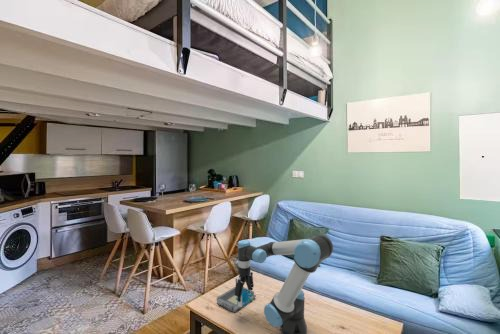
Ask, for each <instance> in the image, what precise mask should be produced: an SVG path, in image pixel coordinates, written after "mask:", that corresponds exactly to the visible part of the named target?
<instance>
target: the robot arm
mask: <svg viewBox="0 0 500 334" xmlns="http://www.w3.org/2000/svg"><path fill="white" fill-rule="evenodd" d="M333 251H334V245H333V242H332V240H331V239H330V238H329V237H328V236H326V235H324V234H317V235H313V236H308V238H303V239H295V240H293V239H292V240H283V241H270V242H267V243H264V244H262V245H259V246H257V247H256V246H252V245H251V241H250V240H247V239H242V240H239V241H238V243H237V265H238V266H237V271H238V278H235V287H236V288H235V296H237V298H238V306H240V307H242V296H241V294H242V290H243V287H244V285H246V286H247V287H246V288H247V290H248V291H250V293H248V295H250V294H251V290H252V291H253V289H254V285H255V284H254V277H253V272H252V271H251V261H252V262H255V263H258V264H263V263H264V262H265V261H266V260H267V259H268V258H270V257H271V256H285V255H286V256H287V255H288V256H289V255H293V256H294V257H293V261H294V263H293V266H292V268H291V269H290V271H289V273H288V275H287V277H286V279H285V281H284V282H283V284H282V286H281V288H280V290H279V291H278V292H276V293H274V295H273V297H272V298H271V300H270V302H269V303H266V305H264V307H263V312H264V313H263V314H264V316H265V319H266V321H267V322H268V323H269V324H270V325H271V326H272V327H274V328H279V327H280V331H281V333H282V334H307V332H308V327H307V323H306V318H305V299H306V298H305V292H304V291H303V290H302V289H303V287H304V286H305V283H306V281H307V280H308V278H309V276H310V275H311V274H312V273H313V274H314V273H315V272H316V271H317V270H318V268H319V266H320V264H321V263H322V262H323V261H325V260H326V259H328V258H330V257H331V256H332V254H333ZM248 291H247V292H248ZM248 297H249V298H251V297H250V296H248ZM242 308H243V307H242Z"/></svg>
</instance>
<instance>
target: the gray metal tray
mask: <svg viewBox="0 0 500 334" xmlns="http://www.w3.org/2000/svg"><path fill="white" fill-rule="evenodd" d="M235 288H236V286H234V287H233V288H231V289H229V290H227V291H226V292H223V293H222V294H220V295H219V296H216V303H217V305H219V306H221V307H222V308H224V309H226V310H227V311H229V312H230V313H231V312H232V313H234V314H235V313H237V312H239V310H242V308H244V307H245V306H244V303H245V302H244V303H243V304H242V307H240V306H238V303H237V301H238V300H236V297H237V296H235ZM243 289H244V291H245V289H248V287H244V286H243ZM244 291H243V292H244ZM246 293H247V291H246ZM251 295H252V297H251V299H252V298H253V299H254V300H255V299H256V297H257V295H256V294H255V291H253V290H251ZM248 302H249V301H248ZM249 303H250V302H249ZM246 305H248V304H247V301H246Z"/></svg>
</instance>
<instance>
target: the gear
mask: <svg viewBox="0 0 500 334" xmlns="http://www.w3.org/2000/svg"><path fill="white" fill-rule="evenodd" d="M247 289H248V288H247ZM247 289H245V291H244V289H243V290H242V294H241V296H242V304H243V303H244V302H245V303H244V307H246V306H247V305H249V304H250V303H253V301H254V300H253V298H252V299H251V298H249V297H248V296H250V297H252V295H251V294H250V295H248V293H250V291H248V290H247ZM243 291H244V292H243ZM246 291H248V292H247V293H246ZM236 300H238V298H237V297H236ZM246 301H247V304H246ZM248 301H249V302H248ZM237 303H238V301H237Z"/></svg>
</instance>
